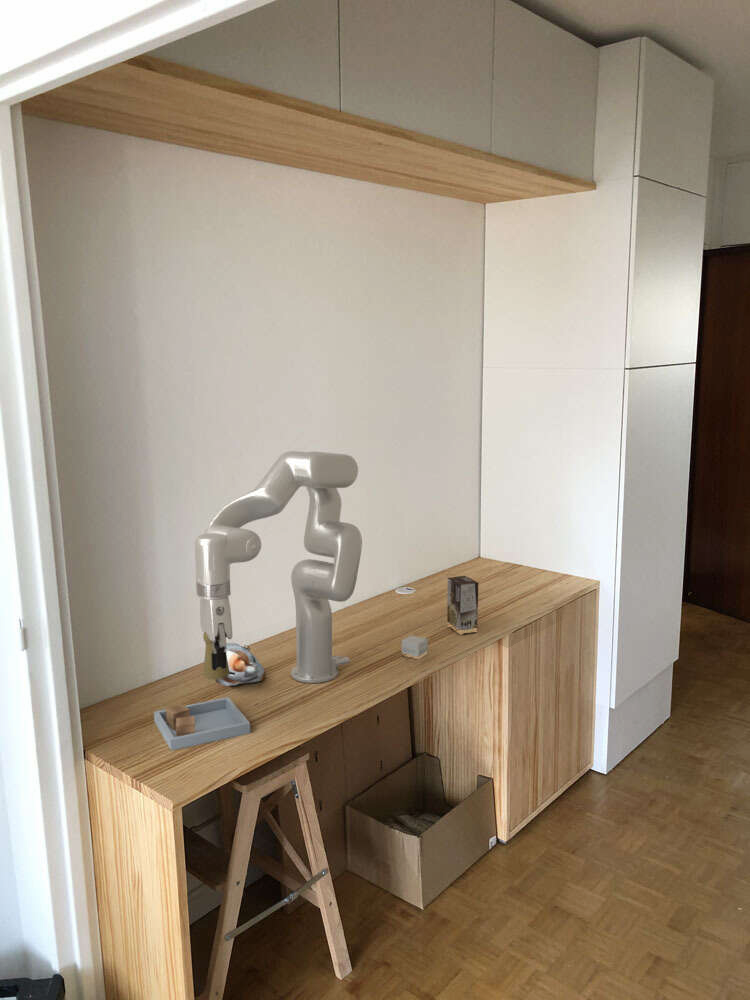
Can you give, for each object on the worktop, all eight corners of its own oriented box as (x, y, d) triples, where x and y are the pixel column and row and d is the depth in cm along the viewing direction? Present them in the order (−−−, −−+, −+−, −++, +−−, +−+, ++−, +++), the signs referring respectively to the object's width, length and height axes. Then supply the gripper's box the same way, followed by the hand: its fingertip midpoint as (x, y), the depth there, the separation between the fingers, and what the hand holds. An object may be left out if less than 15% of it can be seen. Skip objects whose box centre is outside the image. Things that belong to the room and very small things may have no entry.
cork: (217, 667, 195) (216, 622, 193) (235, 673, 191) (233, 627, 189) (197, 674, 190) (195, 629, 188) (214, 681, 187) (212, 634, 185)
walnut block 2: (195, 732, 188) (194, 716, 188) (195, 740, 185) (194, 724, 184) (177, 734, 188) (176, 717, 187) (176, 742, 184) (176, 725, 183)
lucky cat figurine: (275, 676, 222) (272, 642, 213) (246, 706, 214) (241, 672, 205) (233, 651, 228) (228, 616, 219) (202, 680, 220) (196, 645, 211)
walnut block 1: (182, 719, 195) (182, 703, 194) (190, 725, 192) (189, 709, 191) (166, 724, 193) (165, 708, 192) (173, 730, 189) (173, 714, 189)
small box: (428, 654, 238) (428, 638, 237) (418, 660, 233) (418, 644, 232) (411, 650, 241) (411, 634, 240) (400, 656, 236) (400, 640, 235)
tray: (228, 708, 202) (228, 696, 202) (250, 735, 188) (249, 723, 188) (154, 723, 194) (153, 711, 194) (171, 753, 180) (170, 740, 180)
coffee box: (478, 633, 255) (479, 582, 252) (459, 635, 253) (460, 584, 250) (464, 623, 264) (465, 574, 261) (446, 626, 261) (447, 577, 258)
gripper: (241, 596, 181) (243, 675, 185) (218, 577, 196) (221, 651, 199) (207, 600, 178) (210, 681, 181) (187, 581, 193) (190, 656, 196)
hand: (216, 664), depth 190 cm, fingers closed on cork, 3 cm apart
